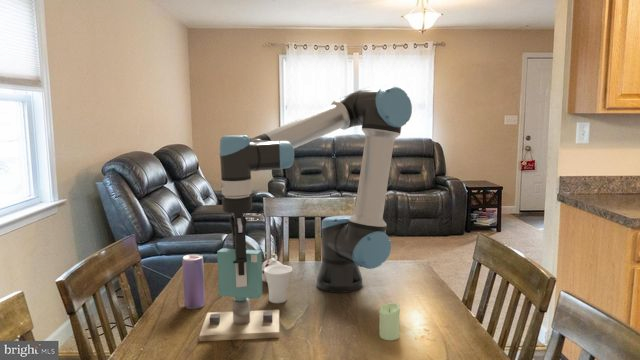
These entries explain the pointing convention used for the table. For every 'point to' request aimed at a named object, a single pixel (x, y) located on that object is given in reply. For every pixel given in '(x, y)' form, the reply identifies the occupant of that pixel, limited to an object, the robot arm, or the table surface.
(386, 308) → the candle
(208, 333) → the post base
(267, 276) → the cup
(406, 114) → the robot arm
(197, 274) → the beverage can
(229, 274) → the teal rectangular panel
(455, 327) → the table surface
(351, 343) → the table surface
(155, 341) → the table surface
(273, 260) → the white ceramic figurine
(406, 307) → the table surface
